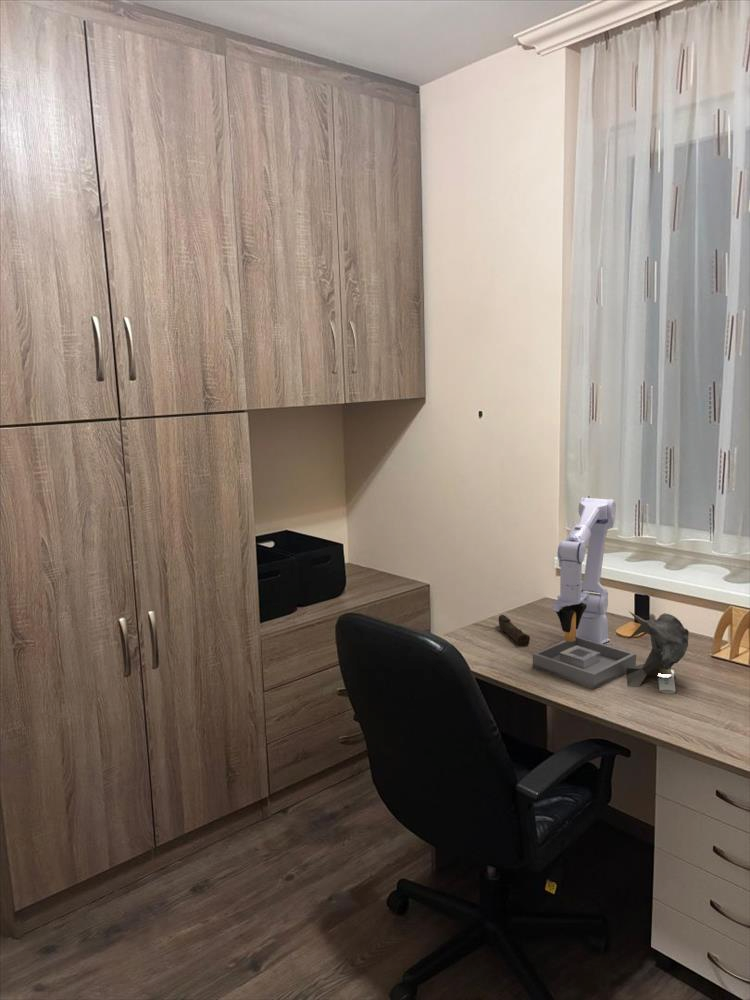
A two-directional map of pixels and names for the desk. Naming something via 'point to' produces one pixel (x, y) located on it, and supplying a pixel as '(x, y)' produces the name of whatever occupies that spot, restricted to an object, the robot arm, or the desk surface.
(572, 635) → the orange wooden block
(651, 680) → the desk surface
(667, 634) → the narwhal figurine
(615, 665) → the walled box
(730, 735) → the desk surface
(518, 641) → the dark brown rod
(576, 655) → the inlet socket
